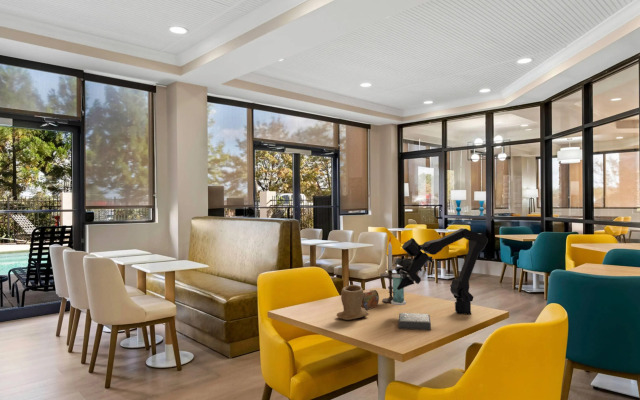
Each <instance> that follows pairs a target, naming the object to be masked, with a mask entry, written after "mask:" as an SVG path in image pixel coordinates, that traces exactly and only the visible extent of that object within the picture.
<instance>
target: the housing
mask: <svg viewBox="0 0 640 400" xmlns="http://www.w3.org/2000/svg"><path fill="white" fill-rule="evenodd" d="M392 277H393V279H392V287H393V289H392V292H393V293H392V297H393V300H392V301H391V305H393V306H394V305H395V306H404V305H407V301H406V300H405V287H404V288H402V289H400V290H398V289H397V287H398V286H399V284H400V283H401V281H402V280H403V275H402V274H394V275H392Z"/></svg>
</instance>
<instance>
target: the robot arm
mask: <svg viewBox="0 0 640 400" xmlns="http://www.w3.org/2000/svg"><path fill="white" fill-rule="evenodd" d="M462 239H464V240H465V239H466V240H467V241H468V251H467V254H466V256H465V259H464V261H463V265H462V266H461V270H460V272H459V276H457V278H456V279H455V278H452V280H451V284H450V286H449V287H450V289H449V290H450V292H451V294H452V295H453V297H454V299H455V302H454V310H455V311H454V312H456V314H458V315H459V314H460V315H472V310H471V309H472V308H471V307H472V305H471V304H472V303H471V302H473V301H474V296H473V295H472V293H471V292H469V291H470V278H471V276H472V274H473V270H474V268H475V265H476V262H477V260H478V257H479V254H480V253H481V252H482V251H483V250H484V249H485V247H486V245H487V244H488V242H489V238H488V236H487V235H486V234H484V233H478V232H475V231H473V230H469V229H468V228H459V229H457V230H455V231H453V232H452V233H451V232H450V233H449V234H446V235H444V236H442V237H440V238H438V239H437V238H436V239H433V240H428V241H425V242H424V243H423V244H419V243H418V242H417V241H416V240H415V238H414V237H413V238H412V237H411V238H410V239H408V240H407V241H405V242H403V244H402V245H401V248H402V250H403V251H405V253H407V255H409V256H410V257H413V258H412V259H411V260H410V259H408V258H406V257H405V258H403V259H402V258H401V257H397V258H396V260H395V262H394V264H395V265H397V266H396V267H395V268H394V271H395V272H396V273H397V274H402V275H403V280H402V281H401V283H400V284H399V286H398V287H397V289H398V290H400V289H402V288H404V289H405V288H406V287H409V286H412V285H415V284H417V285H419V284H420V283H421V281H422V278H421V277H420V276H419V275H418V273H419V272H422V271H423V267H424V266H425V265H426V264H427V263H431V264H432V263H433V256H434V255H436V254H438V253H440V252H441V251H442V250H443V249H444V248H445V247H447V246H449V245H451V244H453V243H456V242H458V241H460V240H462ZM428 254H429V255H433V256H429V255H428Z"/></svg>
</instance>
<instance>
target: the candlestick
mask: <svg viewBox="0 0 640 400" xmlns="http://www.w3.org/2000/svg"><path fill="white" fill-rule="evenodd" d="M391 238H392V237H391V236H390V237H389V239H388V241H389V243H388V246H387V251H388V252H387V253H388V254H387V255H388V269H386V271H388V272H385V273H380V274H379V276H380V278H382V279H387V280H389V282H388V283H389V284H388V285H389V286H387V288H388V293H389V297H386V298H383V299H381V300H382V303H383V304H384V303H385V304H391V301H392V300H393V277H392V275H394V274H397V273H395V272H393V271H394V269H393V252H392V251H393V247H392V246H393V244H391V242H392V241H391ZM391 305H392V304H391Z"/></svg>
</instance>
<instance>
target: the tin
mask: <svg viewBox="0 0 640 400" xmlns="http://www.w3.org/2000/svg"><path fill="white" fill-rule="evenodd" d="M363 293H364V296H363V300H362V305H361V308H365V310H366V311H367V310H371V309H374V308H375V307H377V306H378V305H379V300H380V295H379V293H378V291H377V289H376V290H375V289H372V290H371V289H370V290H367V291H365V292H364V291H363Z"/></svg>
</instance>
